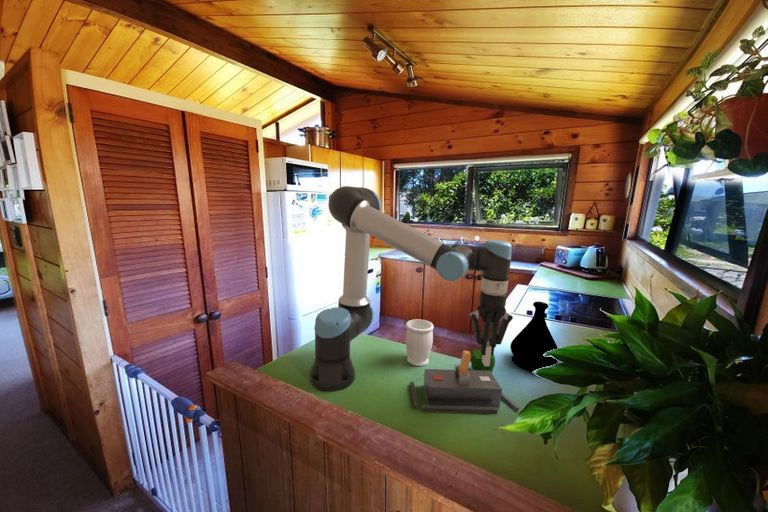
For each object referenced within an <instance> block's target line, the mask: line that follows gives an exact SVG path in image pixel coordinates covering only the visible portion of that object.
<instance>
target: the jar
mask: <svg viewBox="0 0 768 512" xmlns="http://www.w3.org/2000/svg"><path fill="white" fill-rule="evenodd" d="M405 325H406V328H407V329H406V332H405V346H406V348H405V349H406V353H407V357H406V359H407V362H408V363H409V364H410V365H413V366H417V367H422V366H425V365H428V364H429V362H430V361H429V360H430V359H429V357H430V355H431V351H432V348H433V341H434V335H433V334H434V333H433V330H434V326H435V325H434V324H433V323H432V322H431V321H429V320H426V319H419V318H418V319H417V318H414V319H411V320H408V321H407V322H406V324H405Z"/></svg>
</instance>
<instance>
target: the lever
mask: <svg viewBox="0 0 768 512" xmlns="http://www.w3.org/2000/svg"><path fill="white" fill-rule="evenodd" d="M471 354H472V353H471V352H470V351H469V350H463V351H462V355H461V359H460V362H459V363H460V364H459V365H460V367H459V372H458V374H459V373H466V374H467V370H469V366H470V363H471Z"/></svg>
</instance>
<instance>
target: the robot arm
mask: <svg viewBox="0 0 768 512" xmlns="http://www.w3.org/2000/svg"><path fill="white" fill-rule="evenodd" d="M327 205H328V206H327V207H328V210H329V214H330V215H331V217H332V218H333V219H334V220H336V221H337V222H338V223H340V224H341V227H342V228H343V229H344V230H345V245H344V250H345V251H344V263H343V266H344V267H343V268H344V269H343V285H342V286H343V287H342V288H343V289H342V291H343V292H342V295H341V296H340V297H338V303H337V304H338V305H337V306H338V307H335V306H334V307H331V308H325V309H324V310H322V311H320V312H319V313H318V314H317V315H316V317H315V321H314V348H315V350H314V351H315V353H314V355H315V356H314V360H313V364H312V366H311V369H310V371H309V381H310V384H311V385H312V386H313V387H314V388H316V389H318V390H321V391H326V392H333V391H340V390H343V389H346V388H347V387H349V386H351V385H352V384H353V382H354V380H355V379H356V377H355V376H356V370H355V367H354V364H353V362H352V359H351V342H352V341H353V340H354V339H356V338H357V337H359V335H361V334H362V333H363V332H366V330H368V328H369V327H370V326H371V325H372V323H373V321H374V318H375V317H374V314H375V313H374V308H373V307H372V306H371V300H370V298H369V297H368V296H367V292H368V291H367V290H368V273H369V260H370V259H369V257H370V243H371V242H370V241H371V236H372V237H374V238H376V239H378V240H379V241H381V242H383V243H385V244H386V245H388V246H390V247H391V248H393V249H394V248H395V249H396V250H397V251H400V252H401V253H403V254H405V255H407V256H409V257H411V258H412V259H415V260H417V261H418V262H421V263H423V264H424V265H426V266H427V267H430V268H432V269H433V270H435V271H436V272H437V273H438V275H439V276H440V278H442V279H444V280H445V281H450V282H455V281H457V280H459V279H461V278H463V277H464V276H465V275H466V274H467V272H468V271H474V272H481V281H480V290H481V291H480V292H479V300H478V301H479V303H478V306H477V308H476V310H475V311H470V312H469V313H468V314H469V316H470V319H471V320H472V327H473V333H474V334H473V335H474V340H475V342H476V343H477V344H478V345H480V349H479V350H480V353H481V354H482V363H483V364H484V366H490V357H491V355H493V354H494V355H495V353H494V352H495V348H496V347H497V345H499V346H500V345H502V342H503V340H504V337H505V335H506V332H507V330H508V329H507V328H508V326H509V324H510V322H511V321H512V320H513V319H514V317H513V315H511V314H510V313H509V312H507V309H506V303H507V292H508V288H509V277H510V271H511V269H510V268H511V265H512V264H511V261H512V251H513V246H512V244H511V243H510V242H509V241H505V240H497V239H496V240H493V239H491V240H490V239H488V240H485V244H484V245H483V246H481V245H479V246H478V245H472V244H471V245H470V244H469V245H468V244H460V243H447V244H446V243H445V242H442V241H440V240H438V239H436V238H434V237H432V236H430V235H428V234H426V233H424V232H422V231H420V230H418V229H416V228H414V227H412V226H410V225H408V224H406V223H405V222H402V221H400V220H398V219H396V218H394V217H392V216H391V215H388V214H387V213H384V212H383V211H382V201H381V199H380V197H379V195H378V194H377V193H376V192H375V191H374V190H373V189H370V188H367V187H363V186H361V187H360V186H359V187H358V186H347V185H345V186H341V187H338V188H336V189H335V190H334V191H333V192H331V194H330V196H329V198H328V204H327ZM479 316H480V318H481V322H482V323H481V325H482V327H481V330H480V324H479ZM500 320H501V321H500ZM499 321H500V324H499Z"/></svg>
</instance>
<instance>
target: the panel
mask: <svg viewBox="0 0 768 512" xmlns="http://www.w3.org/2000/svg"><path fill="white" fill-rule="evenodd" d="M459 367H460V364H459V363H458V364H457V363H456V364H454V369H441V368H440V369H439V368H436V369H435V368H433V369H431V368H424V373H423V374H424V375H423V388H424V394H425V396H426V401H427V406H467V407H496V408H497V407H498V408H499V407H501V400H502V398H501V393H503V389H502V387H501V385H500V384H499V382H498V381H497V379H496V377H495V376H494V374H493V373H491V371H481V370H472V369H470V370H469V369H468V370H467V374H466V373H459V374H458V372H459Z"/></svg>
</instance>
